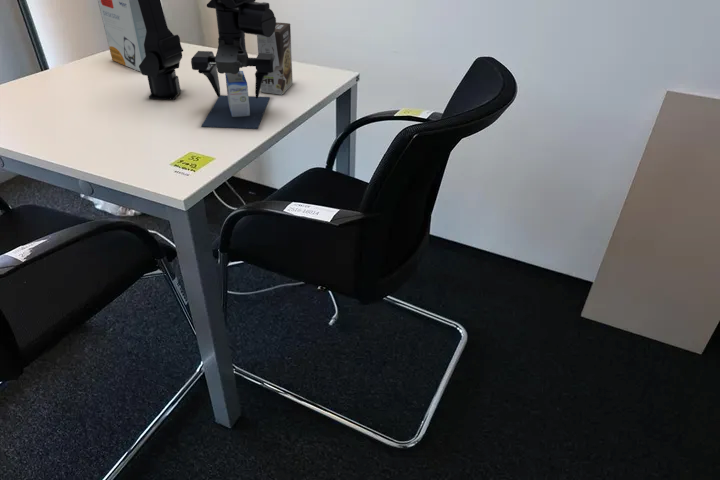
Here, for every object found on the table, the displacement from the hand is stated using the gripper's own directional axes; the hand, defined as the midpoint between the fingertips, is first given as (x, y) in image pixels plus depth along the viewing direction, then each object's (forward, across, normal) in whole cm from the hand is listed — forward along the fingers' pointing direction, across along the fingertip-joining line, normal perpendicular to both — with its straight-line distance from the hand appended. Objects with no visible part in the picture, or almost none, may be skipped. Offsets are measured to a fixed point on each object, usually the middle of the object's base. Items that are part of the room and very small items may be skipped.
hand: (238, 97), depth 130 cm
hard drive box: (+4, -36, +32) cm, 48 cm away
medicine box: (+4, 0, 0) cm, 4 cm away
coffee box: (+4, +7, +17) cm, 19 cm away
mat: (+4, 0, 0) cm, 4 cm away
